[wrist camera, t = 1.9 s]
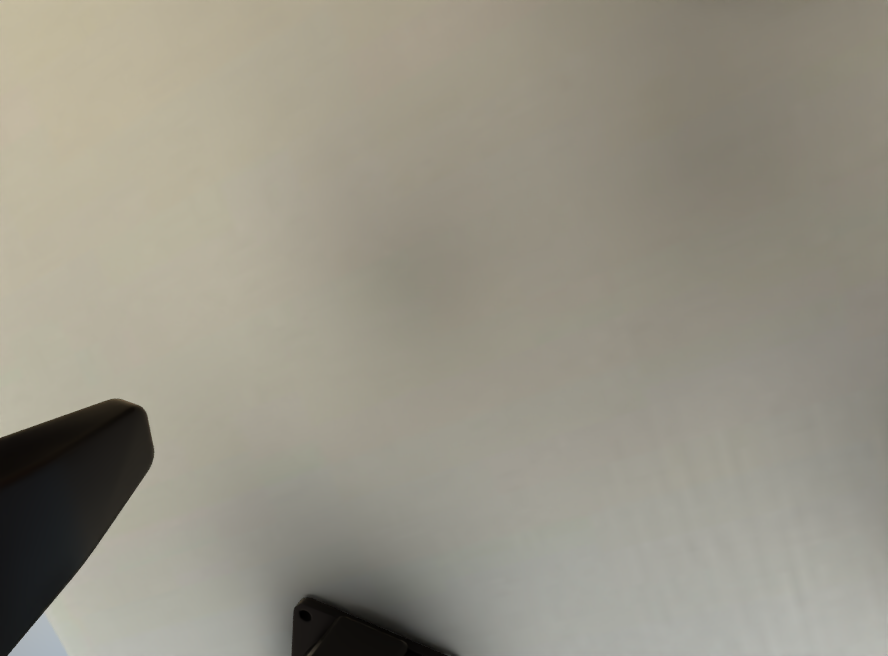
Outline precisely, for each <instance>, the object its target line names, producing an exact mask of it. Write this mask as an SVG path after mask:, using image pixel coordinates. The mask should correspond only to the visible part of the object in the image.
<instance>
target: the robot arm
mask: <svg viewBox="0 0 888 656" xmlns="http://www.w3.org/2000/svg"><path fill="white" fill-rule="evenodd" d="M153 458H154V446H153V442H152V437H151V432H150V427H149V422H148V417H147V414H146V411H145V410H144V409H143V408H142V407H141V406H139V405H136V404H133V403H131V402H128V401H125V400H122V399H110V400H107V401H104V402H101V403H98V404H95V405H92V406H90V407H87V408H84V409H81V410H78V411H75V412H72V413H70V414H67V415H64V416H61V417H58V418H55V419H53V420H50V421H47V422H44V423H41V424H38V425H36V426H33V427H30V428H27V429H24V430H21V431H18V432H16V433H13V434H10V435H7V436H4V437H1V438H0V656H8V654H9V653H10V652H11V651H12V649H13V648H14V647H15V646H16V645H17V644H18V642H19V641H20V640H21V639H22V638H23V636H24V635H25V634H26V633H27V632H28V630H29V629H30V628H31V627H32V626H33V624H34V623H35V622H36V621H37V620H38V618H39V617H40V616H41V615H42V614H43V613H44V611H45V610H46V609H47V608H48V607H49V605H50V604H51V603H52V602H53V601H54V599H55V598H56V597H57V596H58V595H59V593H60V592H61V591H62V590H63V589H64V587H65V586H66V585H67V584H68V583H69V581H70V580H71V579H72V578H73V577H74V575H75V574H76V573H77V572H78V570H79V569H80V568H81V567H82V565H83V564H84V563H85V561H86V560H87V559H88V557H89V556H90V555H91V553H92V552H93V550H94V549H95V548H96V546H97V545H98V543H99V542H100V540H101V539H102V537H103V536H104V535H105V533H106V532H107V530H108V529H109V527H110V526H111V524H112V523H113V521H114V520H115V519H116V517H117V516H118V514H119V513H120V511H121V510H122V508H123V507H124V505H125V504H126V503H127V501H128V500H129V498H130V497H131V495H132V494H133V492H134V491H135V489H136V488H137V486H138V485H139V484H140V482H141V481H142V479H143V478H144V476H145V475H146V473H147V472H148V470H149V469H150V467H151V464H152V462H153ZM292 656H447V655H445V654H443V653H440V652H438V651H436V650H433V649H431V648H428V647H426V646H424V645H421V644H419V643H417V642H414V641H412V640H410V639H407V638H405V637H402V636H400V635H398V634H395V633H393V632H391V631H388V630H386V629H383V628H381V627H379V626H376V625H374V624H372V623H369V622H367V621H365V620H362V619H360V618H357V617H355V616H353V615H350V614H348V613H346V612H343V611H341V610H338V609H336V608H334V607H331V606H329V605H327V604H324V603H322V602H320V601H317V600H315V599H312V598H309V597H306V598H303V599H302V600H300V602H299V603H298V604H297V605H296V606H295V608H294V616H293V637H292Z"/></svg>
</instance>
